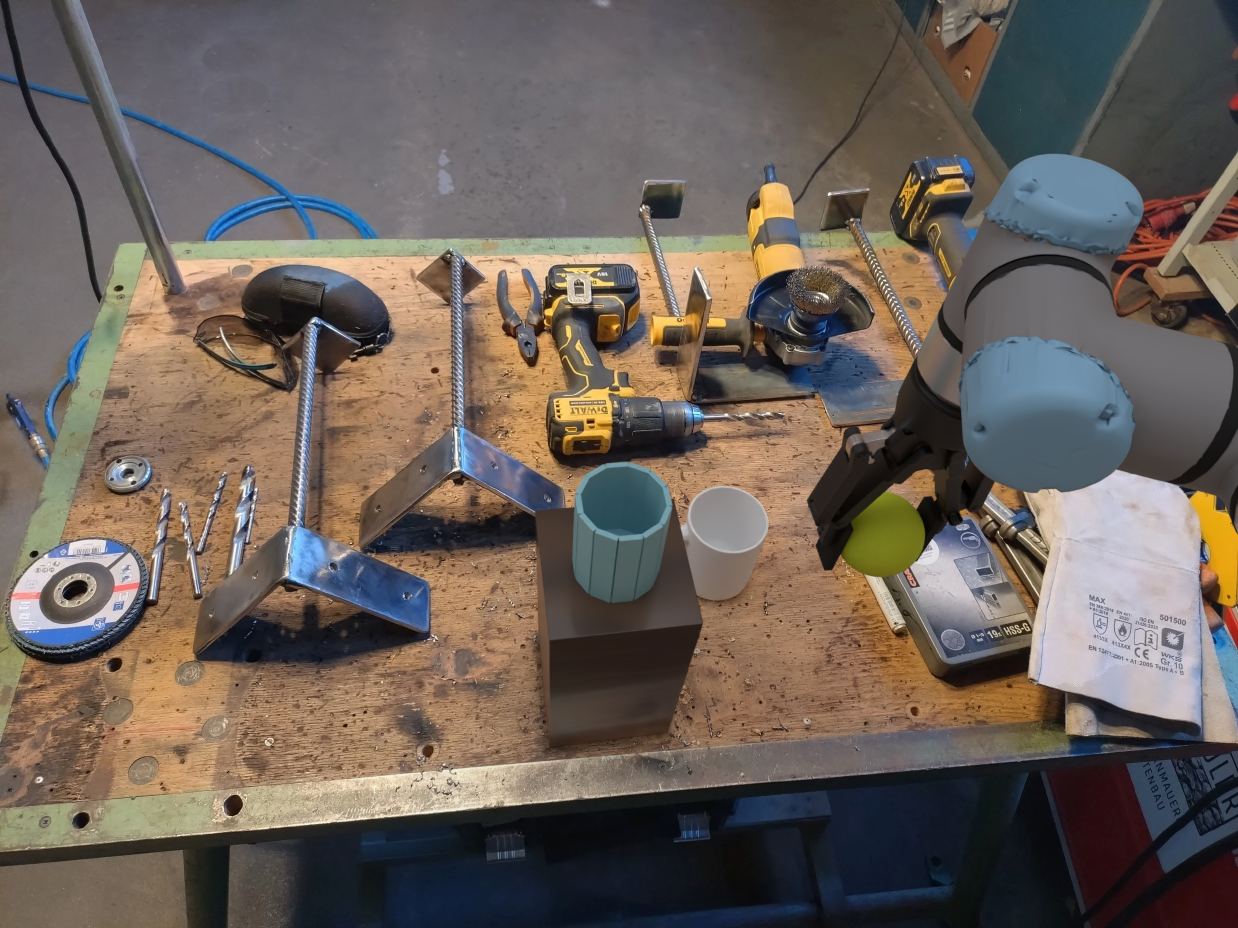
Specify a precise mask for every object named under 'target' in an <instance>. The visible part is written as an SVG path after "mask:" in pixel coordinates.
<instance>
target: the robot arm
mask: <svg viewBox="0 0 1238 928" xmlns="http://www.w3.org/2000/svg"><path fill="white" fill-rule="evenodd" d="M1144 207H1145V206H1144V200H1143V198H1142V196H1141V193H1140V192H1139V190H1138V189H1137V188H1136V186H1135V185H1134V184H1133V183H1132V181H1130V180H1129V179H1128V178H1127V177H1125V176H1124V175H1123V174H1121V173H1120V172H1118V171H1117V170H1115V169H1113V168H1111V167H1110V166H1107V165H1105V164H1103V163H1100V162H1098V161H1095V160H1092V159H1089V158H1084V157H1081V156H1076V155H1071V154H1065V153H1045V154H1037V155H1034V156H1031V157H1030V156H1029V157H1028V158H1025V159H1023V160H1022V161H1020V162H1019V163H1017V164H1016V165H1015V166H1014V167H1012V169H1010V171H1009V172H1008V173H1007V174H1006V177H1005V178H1004V180H1003V182H1002V183H1001V186H1000V187H999V188H998V190H997V191H996V194H995V196H994V197H993V199H992V201H991V202H990V204H989V205H987V206H986V207H985V208H984V211H983V218H982V220H981V223H980V225H979V227H978V229H977V231H976V234H975V236H974V237H973V240H972V241H971V244H970V246H969V247H968V250H967V252H966V254H965V256H964V259H963V260H962V262H961V264H960V266H959V269H958V270H957V273H956V275H955V277H954V279H953V281H952V283H951V286H950V287H949V290H948V292H947V294H946V296H945V298H944V300H943V302H942V304H941V306H940V308H939V309H938V312H937V313H936V315H935V318H934V319H933V322H932V324H931V326H930V327H929V330H928V331H927V334H926V336H925V338H924V339H923V342H922V344H921V346H920V347H919V351H918V354H917V356H916V357H915V359H914V360H913V362H912V364H911V365H910V368H909V370H908V371H907V373H906V376H905V378H904V380H903V382H902V384H901V386H900V388H899V390H898V393H897V397H896V401H895V408H894V412H893V414H892V415H891V416H890V417H889V419H887V420H885V421H884V423H882V425H881V426H880V429H878V430H874V431H868V432H863V433H862V431H861V430H860V427H859V426H856V425H852V426H849V427H847V428H846V429H844V431H843V434H842V442H841V447H840V448H839V450H838V451H837V452H836V454H835V455H834V457H833V459H832V460H831V461H830V464H829V465H828V466H827V468H826V470H824V472H823V474H822V476H821V477H820V478H819V480H818V482H817V483H816V484H815V486H814V488H813V489H812V491H811V492H810V494H809V495H808V497H807V499H806V502H807V506H808V509H809V511H810V514H811V517H812V519H813V522H814V525H815V526H816V533H817V535H818V539H817V541H816V543H815V549H816V552H817V554H818V558H819V560H820V563H821V566H822V569H823V571H825V572H826V571H828V572H829V571H833V570H834V568H835V566H836V564H837V562H838V560H839V559H840V557H841V553H842V551H843V549H844V547H845V545H846V543H847V541H848V539H849V538H850V536H851V534H852V532H853V530H854V529H853V527H852V524H851V521H853V520H854V519H855V518H856V517H857V516H858V515H859V514H860V513H862V512H863V511H864V510H865V509H866V508H867V507H868V506H869V505H871V504H872V503H873V502H874V501H875V500H876V499H877V498H878V497H880V496H881V495H882V494H883V493H884V492H885V491H886V492H887V491H888V490H889V489H890V488H891V487H892V486H893V485H894V484H896V485H902V484H903V483H905V482H906V481H907V480H909V478H911V477H912V476H913V475H914V474H915V473H916V472H920V471H925V470H927V471H934V496H935V498H936V499H934V497H933V495H929V496H927V495H926V496H923V497H922V499H921V501H920V502H919V504H918V505H917V507H916V510H917V511H918V513H919V515H920V517H921V519H922V521H923V525H924V529H925V541H924V545H923V549H922V551H921V554H920V555H919V557H918V559H917V560H916V561H915V562H914V563H917V562H918V561H919V559H920V558H921V557H922V555H923V554H924V552H925V550H926V549H927V548H928V546H929V545H930V543H931V542H932V540H933V539H934V538H935V536H936V535H939V534H940V533H942V531H943V530H944V529H945V527H946V526H947V524H948V525H949V526H950V527H956V526H959V525H961V524H962V523H963V522H964V518H963V516H962V514H961V511H964V510H967V511H968V513H970V514H971V513H972V514H973V513H977V512H979V511H980V510H981V509H983V506H984V504H985V503H986V501H987V498H988V497H989V494H990V493H991V491H992V489H993V487H994V484H995V483H997V484H999V485H1001V486H1004V487H1005V488H1009V489H1011V490H1015V491H1018V492H1022V493H1023V492H1024V493H1027V494H1028V493H1029V494H1038V493H1039V492H1041V490H1056V491H1058V492H1059V493H1070V492H1075V491H1079V490H1083V489H1085V488H1089V487H1090V486H1093V485H1097V484H1098V483H1100V482H1101V481H1104V480H1106V478H1108V477H1109V476H1111V475H1112V474H1113V473H1115V471H1120V472H1123V473H1128V474H1131V475H1135V476H1139V477H1142V478H1147V479H1150V480H1154V481H1158V482H1163V483H1166V484H1167V483H1168V484H1171V485H1173V486H1174V485H1175V486H1178V487H1182V488H1185V489H1189V490H1192V491H1196V492H1201V493H1204V494H1207V495H1210V496H1215V497H1217V498H1219V500H1221V501H1222V502H1223V504H1224V506H1225V509H1226V511H1227V514H1228V516H1229V519H1230V521H1231V524H1232V526H1233V529H1234V531H1235V533H1236V534H1237V535H1238V345H1236V344H1232V343H1228V342H1225V341H1221V340H1215V339H1211V338H1208V337H1207V338H1206V337H1203V336H1199V335H1195V334H1190V333H1186V332H1183V331H1179V330H1174V329H1171V328H1166V327H1162V326H1157V325H1155V324H1150V323H1145V322H1142V321H1136V320H1133V319H1128V318H1123V317H1120V316H1118V315H1117V312H1116V304H1115V298H1114V293H1113V287H1112V280H1111V272H1112V270H1113V269H1112V268H1113V267H1114V264H1115V262H1117V260H1118V259H1119V257H1120V256H1121V255H1122V254H1123V255H1124V254H1125V253H1126V252H1127V251H1128V250H1129V247H1130V244H1129V243H1130V241H1131V239H1132V238H1133V236H1134V235H1135V232H1136V230H1137V228H1138V226H1139V225H1140V222H1141V221H1142V219H1143V216H1144V211H1145V210H1144V209H1145V208H1144ZM968 458H969V459H968ZM967 460H968V461H967ZM966 461H967V463H966Z"/></svg>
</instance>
